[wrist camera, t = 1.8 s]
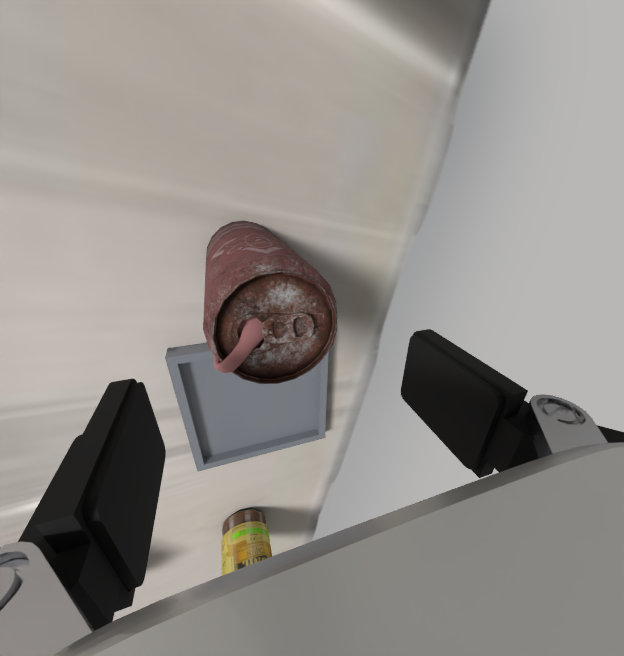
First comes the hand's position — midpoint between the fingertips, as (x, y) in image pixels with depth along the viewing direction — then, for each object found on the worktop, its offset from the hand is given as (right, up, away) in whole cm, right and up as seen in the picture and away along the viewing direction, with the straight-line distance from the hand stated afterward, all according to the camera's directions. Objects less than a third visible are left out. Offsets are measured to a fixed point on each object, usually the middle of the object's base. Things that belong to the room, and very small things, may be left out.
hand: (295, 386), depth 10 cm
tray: (-5, -5, +21) cm, 22 cm away
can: (-5, +8, +14) cm, 17 cm away
